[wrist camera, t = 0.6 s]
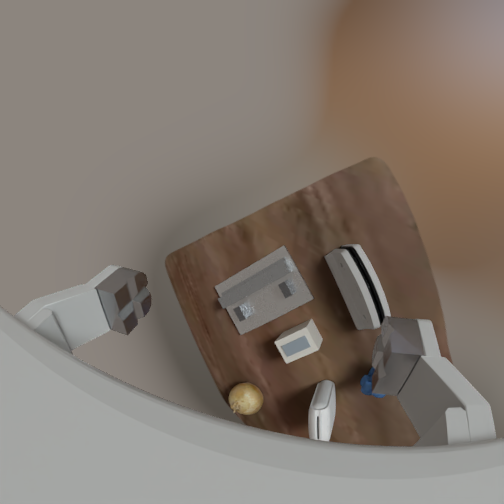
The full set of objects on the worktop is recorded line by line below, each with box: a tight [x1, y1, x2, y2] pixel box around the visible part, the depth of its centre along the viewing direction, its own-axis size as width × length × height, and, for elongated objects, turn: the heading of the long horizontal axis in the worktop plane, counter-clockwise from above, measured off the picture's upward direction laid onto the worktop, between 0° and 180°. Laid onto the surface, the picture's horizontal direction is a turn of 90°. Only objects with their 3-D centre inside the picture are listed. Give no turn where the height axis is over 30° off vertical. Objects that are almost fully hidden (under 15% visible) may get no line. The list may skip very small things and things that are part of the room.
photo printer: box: [308, 380, 336, 441], centre depth 50 cm, size 10×4×12 cm, turn 7°
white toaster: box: [324, 244, 391, 330], centre depth 49 cm, size 17×5×10 cm, turn 27°
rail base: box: [215, 245, 314, 335], centre depth 58 cm, size 12×18×4 cm, turn 121°
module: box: [275, 319, 323, 364], centre depth 54 cm, size 5×7×6 cm
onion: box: [229, 382, 263, 415], centre depth 59 cm, size 8×8×7 cm
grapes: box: [360, 367, 385, 398], centre depth 45 cm, size 12×7×12 cm, turn 119°
